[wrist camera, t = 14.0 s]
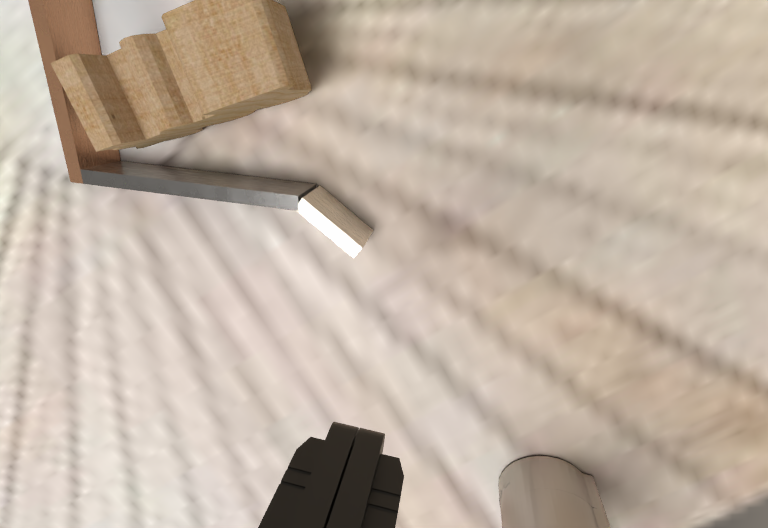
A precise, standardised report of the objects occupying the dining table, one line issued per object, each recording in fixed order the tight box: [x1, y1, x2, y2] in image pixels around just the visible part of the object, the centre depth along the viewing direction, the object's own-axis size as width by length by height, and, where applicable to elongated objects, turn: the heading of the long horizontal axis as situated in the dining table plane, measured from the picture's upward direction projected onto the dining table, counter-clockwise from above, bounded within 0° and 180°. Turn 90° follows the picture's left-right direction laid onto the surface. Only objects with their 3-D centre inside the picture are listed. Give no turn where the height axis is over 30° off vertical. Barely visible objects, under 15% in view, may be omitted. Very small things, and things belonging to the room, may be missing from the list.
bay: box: [28, 0, 373, 258], centre depth 32 cm, size 26×24×4 cm
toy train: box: [51, 0, 312, 152], centre depth 29 cm, size 6×17×10 cm, turn 106°
